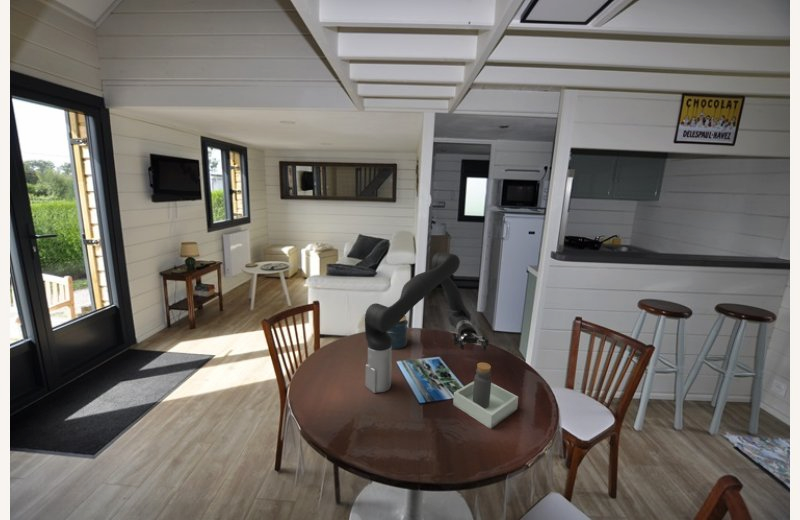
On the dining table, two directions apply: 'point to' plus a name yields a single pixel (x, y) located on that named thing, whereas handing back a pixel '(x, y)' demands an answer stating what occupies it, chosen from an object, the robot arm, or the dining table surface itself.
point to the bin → (497, 410)
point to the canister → (399, 334)
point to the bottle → (482, 385)
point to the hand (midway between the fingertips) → (473, 347)
